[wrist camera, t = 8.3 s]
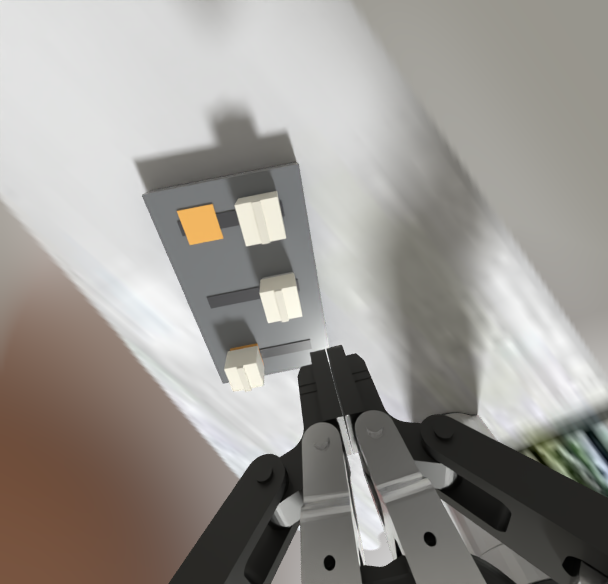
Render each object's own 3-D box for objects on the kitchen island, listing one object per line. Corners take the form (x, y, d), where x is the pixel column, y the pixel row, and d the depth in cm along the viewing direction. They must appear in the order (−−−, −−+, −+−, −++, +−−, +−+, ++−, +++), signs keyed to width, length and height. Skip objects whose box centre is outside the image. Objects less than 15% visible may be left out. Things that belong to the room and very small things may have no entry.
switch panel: (296, 161, 23) (298, 164, 22) (328, 349, 33) (331, 362, 31) (151, 190, 23) (140, 195, 21) (225, 370, 33) (222, 384, 31)
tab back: (257, 345, 29) (255, 365, 26) (264, 367, 30) (263, 388, 28) (227, 351, 29) (223, 371, 26) (236, 373, 30) (232, 394, 28)
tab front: (276, 190, 22) (277, 197, 19) (284, 228, 23) (286, 239, 21) (238, 198, 22) (233, 206, 19) (248, 236, 23) (245, 247, 21)
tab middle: (294, 272, 25) (296, 287, 23) (300, 301, 27) (302, 318, 24) (260, 279, 25) (259, 294, 23) (268, 308, 27) (268, 325, 24)
